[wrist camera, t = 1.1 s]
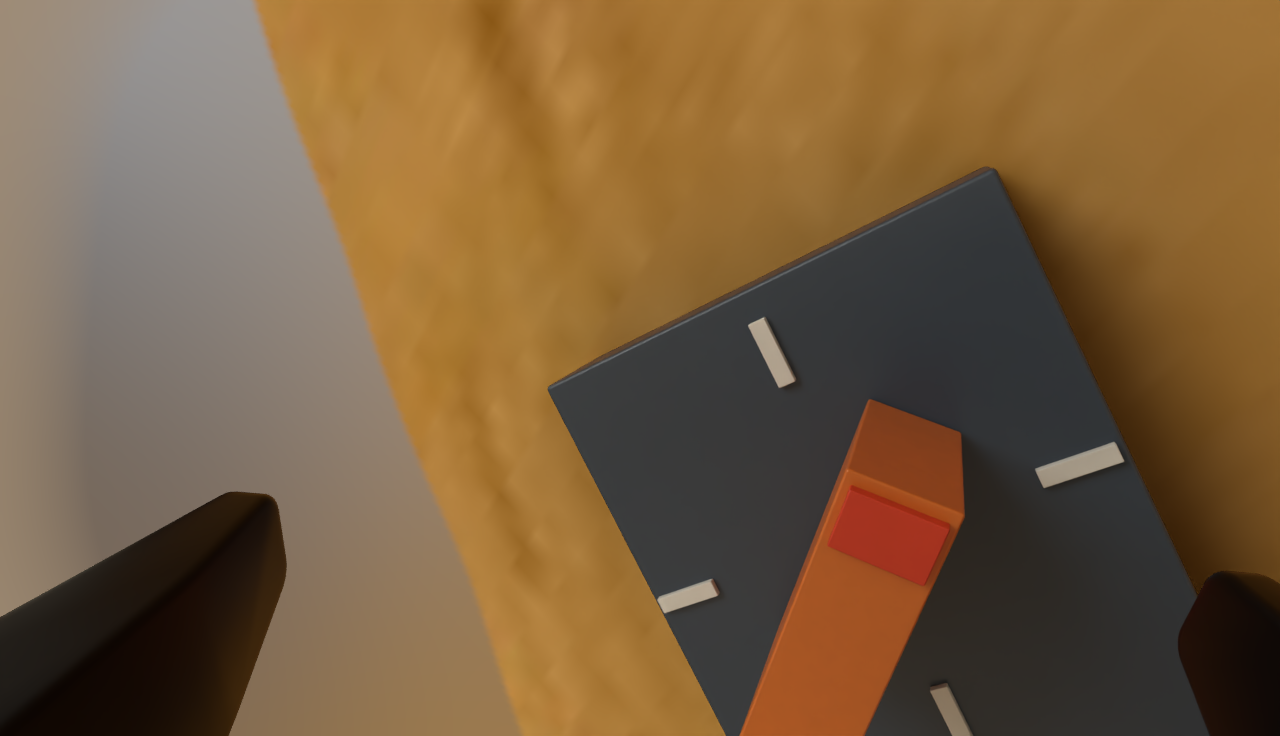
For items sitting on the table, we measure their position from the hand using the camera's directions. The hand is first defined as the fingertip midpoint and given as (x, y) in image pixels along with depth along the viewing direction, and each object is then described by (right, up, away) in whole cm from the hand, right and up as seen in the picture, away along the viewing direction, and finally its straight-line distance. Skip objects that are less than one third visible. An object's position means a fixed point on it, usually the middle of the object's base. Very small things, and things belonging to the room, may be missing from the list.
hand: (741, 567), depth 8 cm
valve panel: (+5, -2, +12) cm, 13 cm away
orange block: (+3, -1, +9) cm, 10 cm away
